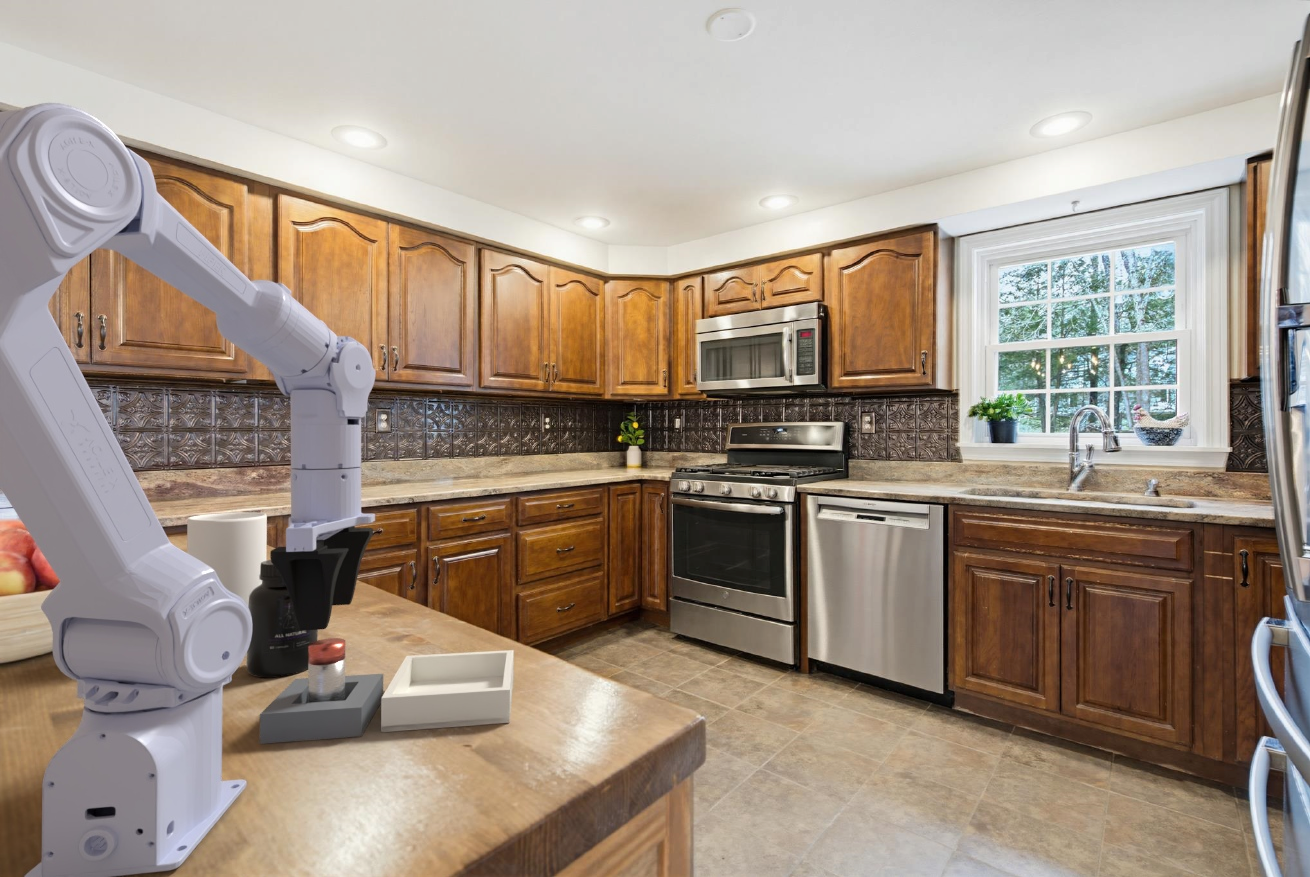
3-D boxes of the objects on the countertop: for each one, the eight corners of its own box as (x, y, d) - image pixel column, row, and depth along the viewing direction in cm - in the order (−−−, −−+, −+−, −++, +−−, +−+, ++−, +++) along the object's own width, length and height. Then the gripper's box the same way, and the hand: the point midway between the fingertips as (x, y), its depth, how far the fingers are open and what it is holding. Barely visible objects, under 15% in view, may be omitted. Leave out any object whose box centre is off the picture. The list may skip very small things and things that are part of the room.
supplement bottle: (285, 681, 67) (286, 568, 67) (231, 676, 68) (232, 565, 68) (331, 659, 73) (332, 556, 73) (281, 655, 75) (282, 554, 75)
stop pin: (339, 725, 57) (339, 647, 57) (302, 728, 56) (303, 649, 56) (348, 711, 59) (349, 637, 60) (314, 713, 59) (315, 639, 59)
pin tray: (509, 722, 57) (509, 689, 57) (381, 732, 55) (381, 697, 55) (513, 677, 68) (513, 649, 68) (406, 684, 66) (406, 655, 66)
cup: (258, 650, 76) (259, 518, 76) (176, 658, 73) (177, 521, 73) (271, 631, 84) (272, 511, 84) (197, 637, 81) (198, 513, 81)
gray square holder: (361, 736, 55) (361, 707, 55) (259, 743, 53) (260, 713, 53) (383, 698, 62) (383, 673, 62) (295, 704, 61) (295, 678, 61)
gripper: (352, 472, 51) (353, 638, 52) (389, 463, 66) (390, 593, 66) (256, 473, 50) (257, 644, 50) (316, 463, 64) (316, 596, 64)
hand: (327, 615), depth 58 cm, fingers open, 7 cm apart
